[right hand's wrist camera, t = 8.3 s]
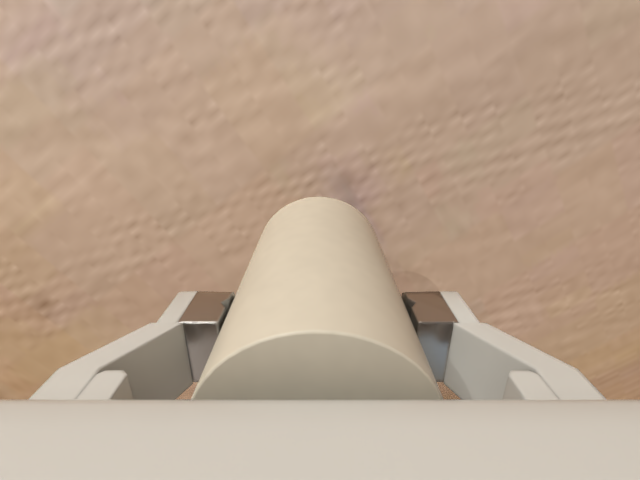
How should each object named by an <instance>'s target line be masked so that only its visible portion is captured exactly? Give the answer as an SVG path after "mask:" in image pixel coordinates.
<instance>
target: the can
mask: <svg viewBox="0 0 640 480" xmlns="http://www.w3.org/2000/svg"><path fill="white" fill-rule="evenodd" d="M191 400H443V397H442V394H441V392H440V390H439V387H438V385H437V382H436V380H435V377H434V375H433V373H432V370H431V368H430V365H429V363H428V360H427V358H426V356H425V353H424V351H423V348H422V346H421V343H420V341H419V339H418V336H417V334H416V331H415V329H414V326H413V324H412V321H411V319H410V317H409V314H408V312H407V309H406V307H405V304H404V302H403V300H402V297H401V295H400V292H399V290H398V287H397V285H396V283H395V280H394V278H393V275H392V273H391V270H390V268H389V266H388V263H387V261H386V258H385V256H384V253H383V251H382V249H381V246H380V244H379V241H378V239H377V236H376V234H375V232H374V230H373V228H372V226H371V224H370V223H369V221H368V220H367V219H366V218H365V216H364V215H363V214H362V213H361V212H359V211H358V210H357V209H356V208H354V207H353V206H351V205H349V204H347V203H345V202H343V201H340V200H337V199H333V198H328V197H309V198H304V199H300V200H297V201H294V202H292V203H290V204H288V205H286V206H285V207H283V208H282V209H280V210H279V211H278V212H277V213H276V214H275V215H274V216H273V217H272V218H271V219H270V220H269V222H268V223H267V225H266V226H265V228H264V230H263V233H262V235H261V237H260V240H259V242H258V244H257V247H256V249H255V251H254V254H253V256H252V258H251V261H250V263H249V265H248V267H247V270H246V272H245V274H244V277H243V279H242V281H241V284H240V286H239V288H238V291H237V293H236V295H235V298H234V300H233V302H232V305H231V307H230V309H229V312H228V314H227V316H226V319H225V321H224V323H223V326H222V328H221V330H220V333H219V335H218V337H217V340H216V342H215V344H214V347H213V349H212V351H211V354H210V356H209V358H208V361H207V363H206V365H205V368H204V370H203V372H202V375H201V377H200V379H199V382H198V384H197V386H196V389H195V391H194V393H193V396H192V398H191Z"/></svg>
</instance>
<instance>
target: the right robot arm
mask: <svg viewBox="0 0 640 480" xmlns="http://www.w3.org/2000/svg"><path fill="white" fill-rule="evenodd" d="M234 298H235V294H234V292H201V291H200V292H198V291H182V292H179V293H178V294H177V295H176V297H175V298H174V299H173V301H172V302H171V304H170V305H169V306H168V308H167V309H166V310H165V312H164V313H163V314H162V316H161V317H160V318H159V320H158V321H157V322H156V323H149V324H147V325H145V326H143V327H141V328H139V329H137V330H135V331H133V332H131V333H129V334H127V335H125V336H123V337H121V338H119V339H117V340H115V341H113V342H111V343H109V344H107V345H105V346H103V347H101V348H99V349H97V350H95V351H93V352H91V353H89V354H87V355H85V356H83V357H81V358H79V359H77V360H75V361H73V362H71V363H69V364H67V365H65V366H63V367H61V368H59V369H58V370H57V371H56V372H55V373H54V374H53V375H52V376H51V377H50V378H49V379H48V380H47V381H46V382H45V383H44V384H43V385H42V386H41V387H40V388H39V389H38V390H37V391H36V392H35V393H34V394H33V395H32V396H31V397H30V398H29V399H28V400H0V480H640V400H607V399H606V398H605V397H604V396H603V395H602V394H601V393H600V392H599V391H598V390H597V389H596V388H595V387H594V386H593V385H592V384H591V383H590V381H589V380H588V379H587V378H586V377H585V376H584V375H583V374H582V373H581V372H580V371H579V370H578V369H576V368H574V367H572V366H570V365H568V364H566V363H564V362H562V361H560V360H558V359H556V358H554V357H552V356H550V355H548V354H546V353H544V352H542V351H541V350H539V349H537V348H535V347H533V346H531V345H529V344H527V343H525V342H523V341H521V340H519V339H517V338H515V337H513V336H511V335H509V334H507V333H505V332H503V331H501V330H499V329H497V328H495V327H493V326H491V325H489V324H487V323H480V322H479V321H478V319H477V318H476V317H475V315H474V314H473V312H472V311H471V310H470V308H469V307H468V306H467V304H466V303H465V301H464V300H463V299H462V297H461V296H460V295H459V293H458V292H456V291H444V292H404V293H402V300H403V302H404V304H405V307H406V309H407V312H408V314H409V317H410V319H411V321H412V324H413V326H414V329H415V331H416V334H417V336H418V339H419V341H420V343H421V346H422V348H423V351H424V353H425V356H426V358H427V360H428V363H429V365H430V368H431V370H432V373H433V375H434V377H435V380H436V382H444V384H445V385H446V386H447V387H448V388H449V389H451V390H452V391H453V392H454V393H455V394H456V395H457V396H458V397H459V398H460V399H462V400H175V399H176V398H177V397H178V396H180V395H181V394H182V393H183V392H184V391H185V390H186V389H187V388H188V387H190V386H191V385H192V384H193V382H199V379H200V377H201V375H202V372H203V370H204V368H205V365H206V363H207V361H208V358H209V356H210V354H211V351H212V349H213V347H214V344H215V342H216V340H217V337H218V335H219V333H220V330H221V328H222V326H223V323H224V321H225V319H226V316H227V314H228V312H229V309H230V307H231V305H232V302H233V300H234Z"/></svg>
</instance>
